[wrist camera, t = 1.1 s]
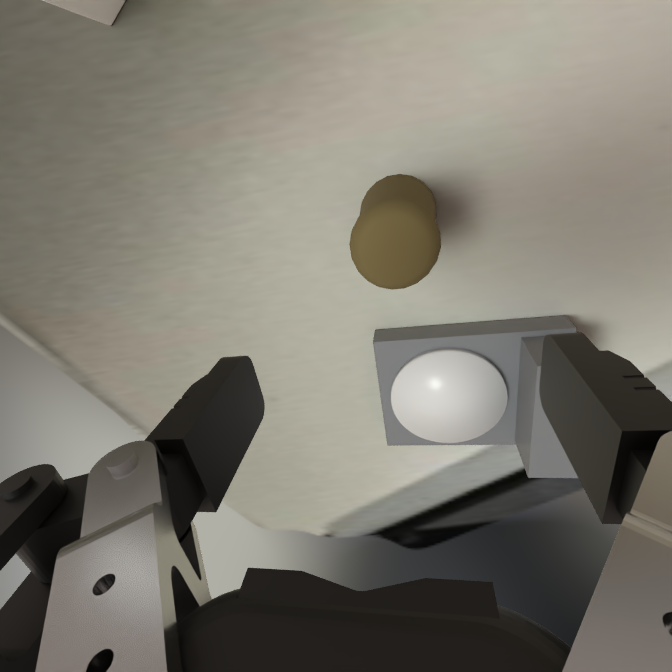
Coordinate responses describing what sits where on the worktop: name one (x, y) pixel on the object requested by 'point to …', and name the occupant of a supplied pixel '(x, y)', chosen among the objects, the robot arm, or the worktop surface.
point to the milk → (92, 8)
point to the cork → (396, 233)
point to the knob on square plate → (471, 388)
